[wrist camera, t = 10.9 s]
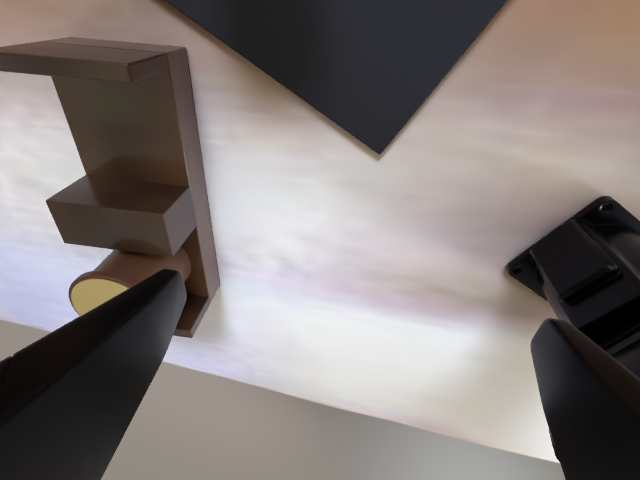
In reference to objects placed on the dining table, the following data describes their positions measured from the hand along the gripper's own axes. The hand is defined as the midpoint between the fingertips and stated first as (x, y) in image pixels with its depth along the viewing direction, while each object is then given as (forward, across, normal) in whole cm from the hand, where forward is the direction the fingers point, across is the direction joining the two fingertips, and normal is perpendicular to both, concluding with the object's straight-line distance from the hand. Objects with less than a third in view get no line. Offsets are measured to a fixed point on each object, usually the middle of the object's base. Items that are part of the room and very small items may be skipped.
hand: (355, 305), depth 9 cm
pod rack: (+12, +12, +4) cm, 18 cm away
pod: (+10, +12, +8) cm, 18 cm away
